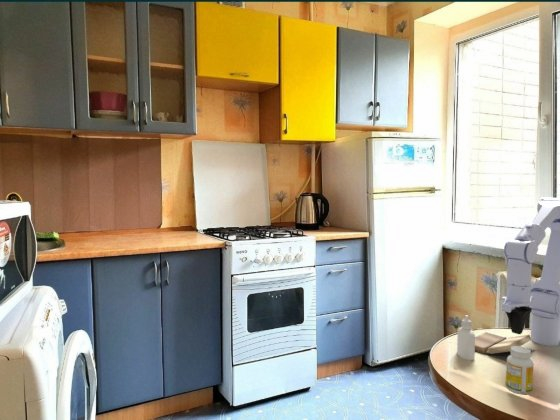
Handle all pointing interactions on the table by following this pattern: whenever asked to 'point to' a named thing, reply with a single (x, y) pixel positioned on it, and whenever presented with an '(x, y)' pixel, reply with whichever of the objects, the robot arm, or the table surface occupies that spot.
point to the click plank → (509, 344)
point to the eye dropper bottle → (466, 340)
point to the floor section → (490, 344)
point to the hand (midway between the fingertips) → (516, 333)
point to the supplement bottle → (519, 370)
